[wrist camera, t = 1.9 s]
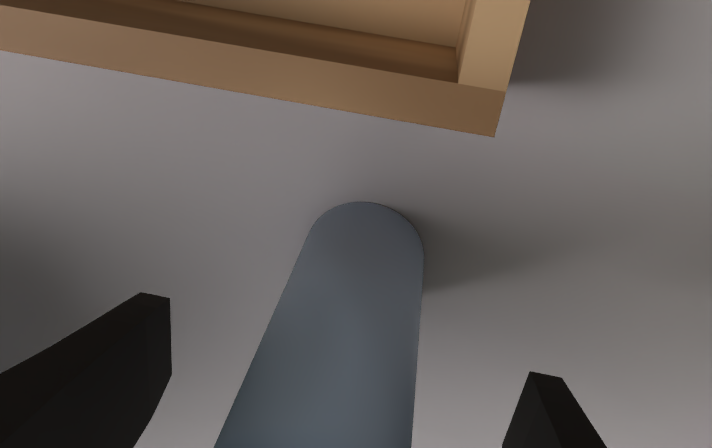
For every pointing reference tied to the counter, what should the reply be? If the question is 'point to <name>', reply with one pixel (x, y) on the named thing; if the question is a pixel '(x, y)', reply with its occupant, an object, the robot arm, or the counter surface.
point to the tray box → (296, 50)
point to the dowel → (339, 341)
